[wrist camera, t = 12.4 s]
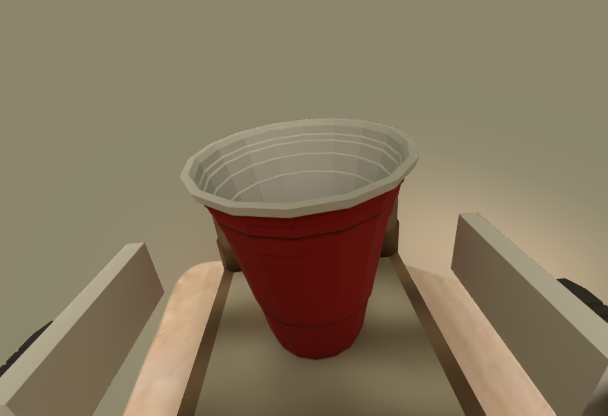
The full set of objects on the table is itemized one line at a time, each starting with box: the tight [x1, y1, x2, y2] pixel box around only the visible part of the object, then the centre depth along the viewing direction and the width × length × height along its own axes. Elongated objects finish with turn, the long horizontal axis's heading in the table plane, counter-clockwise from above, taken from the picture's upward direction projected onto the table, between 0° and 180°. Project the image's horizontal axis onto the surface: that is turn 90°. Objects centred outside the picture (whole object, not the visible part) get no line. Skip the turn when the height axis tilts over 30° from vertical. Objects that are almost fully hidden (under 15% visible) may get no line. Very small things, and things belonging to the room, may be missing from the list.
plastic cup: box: [180, 118, 418, 360], centre depth 17 cm, size 11×11×12 cm
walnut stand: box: [177, 196, 486, 416], centre depth 20 cm, size 16×15×10 cm
